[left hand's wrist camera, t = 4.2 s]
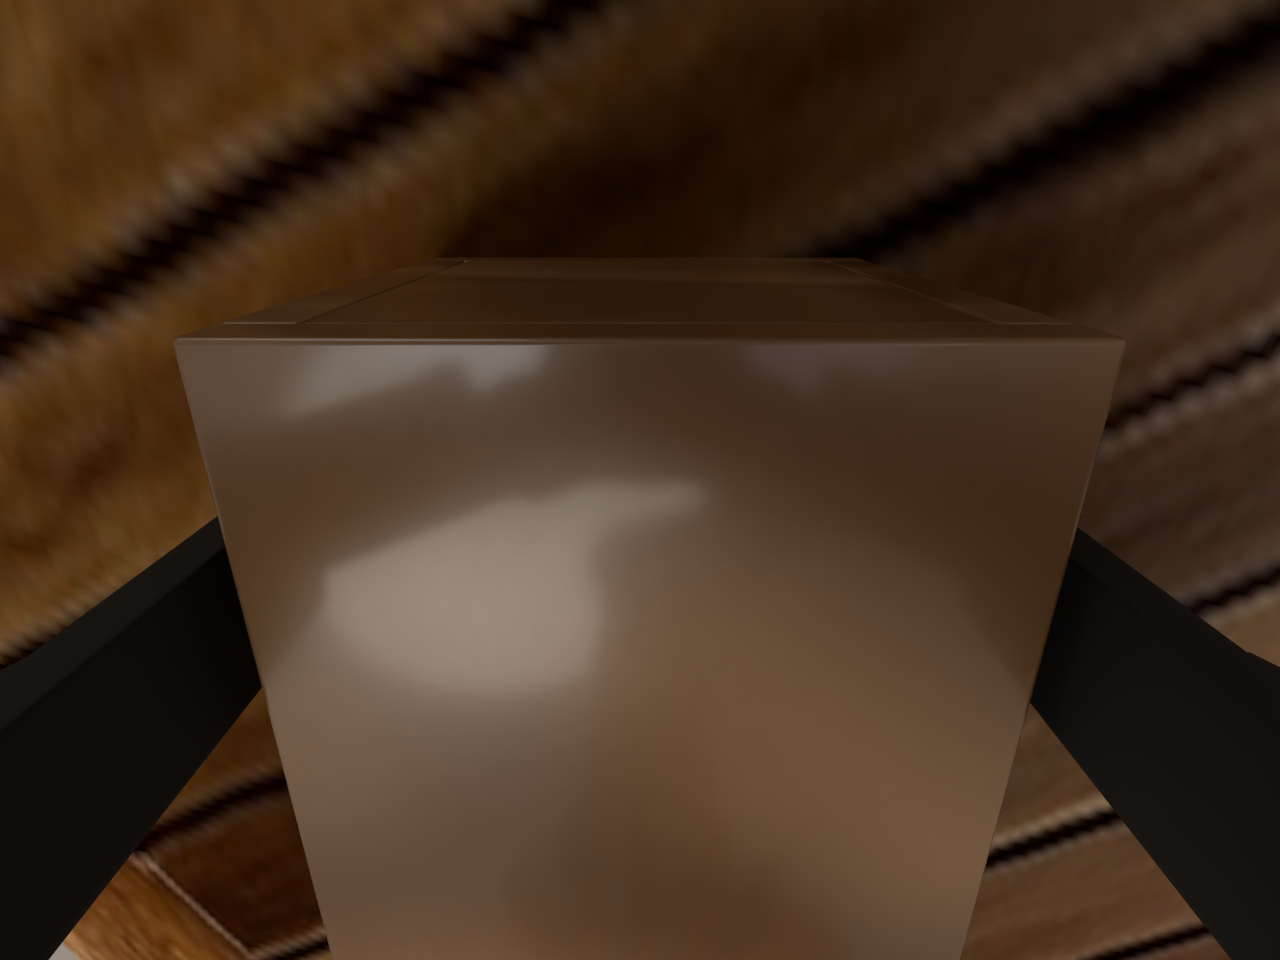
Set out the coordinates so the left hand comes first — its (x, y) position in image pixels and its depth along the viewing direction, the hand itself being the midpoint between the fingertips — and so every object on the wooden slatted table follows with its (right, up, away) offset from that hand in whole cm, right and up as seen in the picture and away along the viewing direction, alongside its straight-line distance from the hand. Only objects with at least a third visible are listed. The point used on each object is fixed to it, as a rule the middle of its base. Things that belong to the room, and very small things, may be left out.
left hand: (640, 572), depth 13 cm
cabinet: (0, -2, +10) cm, 11 cm away
